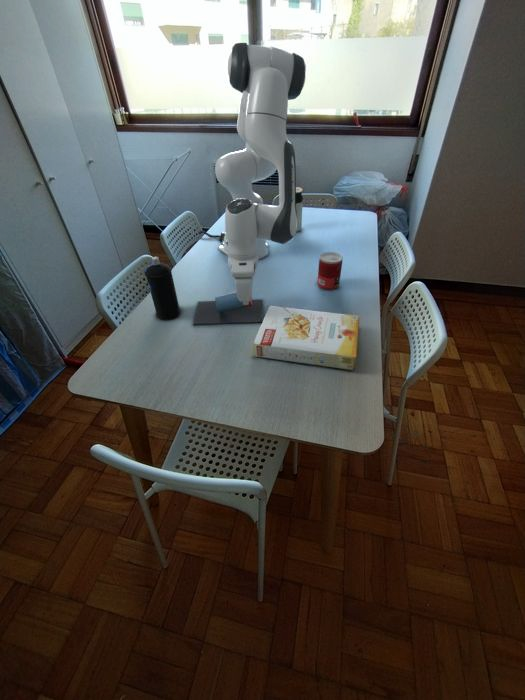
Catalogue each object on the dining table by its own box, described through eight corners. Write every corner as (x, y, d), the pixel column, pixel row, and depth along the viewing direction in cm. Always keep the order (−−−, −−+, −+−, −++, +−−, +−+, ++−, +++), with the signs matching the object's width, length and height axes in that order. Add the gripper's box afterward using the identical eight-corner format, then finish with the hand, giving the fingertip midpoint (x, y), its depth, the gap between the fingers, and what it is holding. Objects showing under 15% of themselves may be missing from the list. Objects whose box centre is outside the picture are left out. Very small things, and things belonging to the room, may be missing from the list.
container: (214, 302, 110) (247, 294, 109) (215, 292, 115) (247, 284, 113) (220, 316, 114) (252, 308, 112) (221, 306, 118) (252, 299, 116)
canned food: (338, 291, 124) (342, 262, 117) (316, 289, 126) (318, 261, 119) (339, 280, 130) (343, 252, 123) (317, 278, 131) (320, 251, 124)
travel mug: (301, 232, 164) (303, 192, 152) (285, 232, 165) (285, 192, 153) (300, 225, 170) (302, 186, 158) (284, 226, 171) (285, 187, 159)
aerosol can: (185, 308, 119) (174, 253, 106) (173, 322, 113) (159, 266, 100) (164, 304, 121) (150, 250, 108) (151, 317, 115) (135, 262, 102)
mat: (193, 325, 112) (193, 324, 111) (198, 302, 121) (198, 301, 121) (262, 323, 111) (262, 321, 111) (261, 300, 121) (261, 299, 121)
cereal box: (357, 356, 90) (252, 342, 95) (354, 372, 93) (252, 357, 99) (360, 313, 105) (268, 303, 110) (357, 328, 108) (268, 317, 114)
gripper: (234, 243, 111) (237, 281, 121) (231, 275, 96) (235, 316, 105) (253, 242, 111) (255, 281, 121) (254, 274, 96) (256, 315, 105)
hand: (246, 297), depth 113 cm, fingers closed on container, 6 cm apart
